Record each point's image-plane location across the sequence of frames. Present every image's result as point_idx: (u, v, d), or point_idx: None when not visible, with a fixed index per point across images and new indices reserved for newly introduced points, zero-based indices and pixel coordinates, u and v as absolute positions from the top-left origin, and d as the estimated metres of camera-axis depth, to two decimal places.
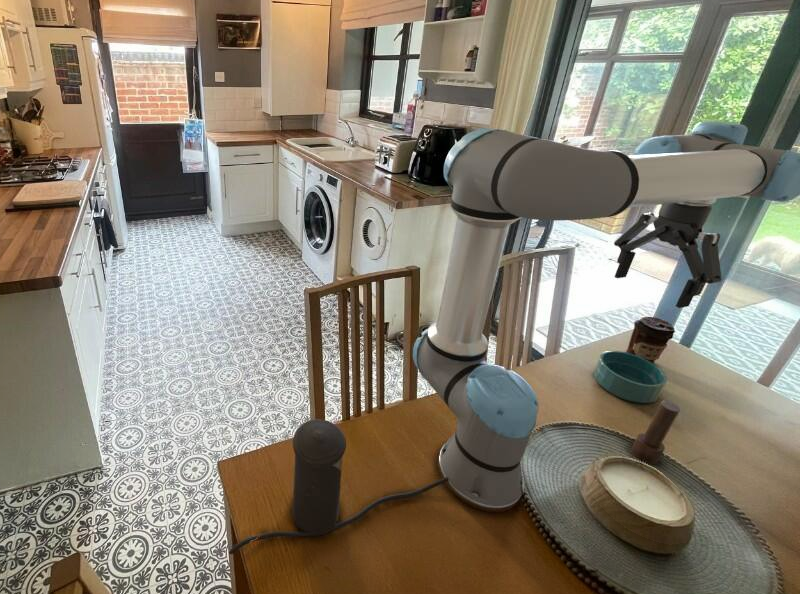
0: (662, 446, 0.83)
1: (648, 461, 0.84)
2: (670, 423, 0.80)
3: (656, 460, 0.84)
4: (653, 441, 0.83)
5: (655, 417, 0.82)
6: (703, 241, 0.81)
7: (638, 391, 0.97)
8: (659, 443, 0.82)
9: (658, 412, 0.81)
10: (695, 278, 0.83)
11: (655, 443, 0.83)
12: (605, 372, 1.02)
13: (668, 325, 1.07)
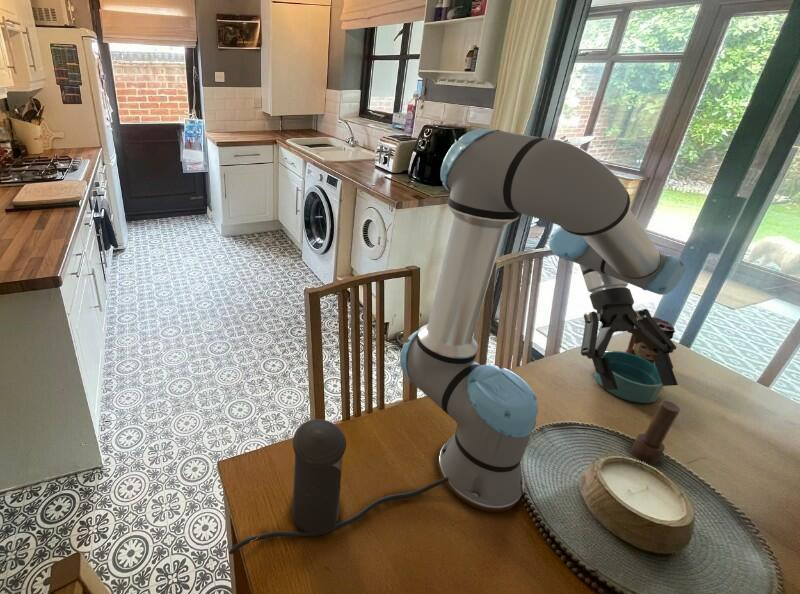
0: (662, 446, 0.83)
1: (648, 461, 0.84)
2: (670, 423, 0.80)
3: (656, 460, 0.84)
4: (653, 441, 0.83)
5: (655, 417, 0.82)
6: (646, 316, 0.91)
7: (638, 391, 0.97)
8: (659, 443, 0.82)
9: (658, 412, 0.81)
10: (665, 350, 0.88)
11: (655, 443, 0.83)
12: None
13: (668, 325, 1.07)
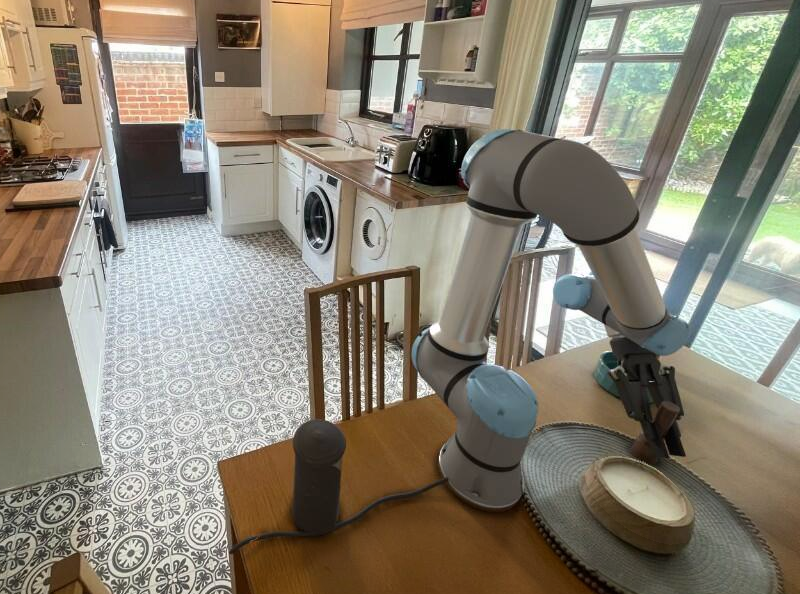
0: None
1: (648, 461, 0.84)
2: (670, 423, 0.80)
3: (656, 460, 0.84)
4: None
5: (655, 417, 0.82)
6: (669, 372, 0.85)
7: None
8: None
9: (658, 412, 0.81)
10: None
11: None
12: (605, 372, 1.02)
13: None
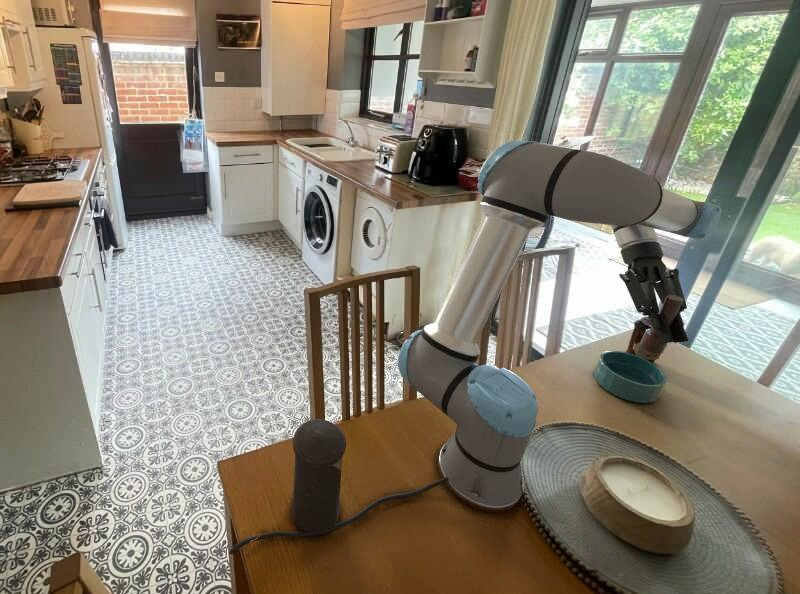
0: None
1: (655, 350, 0.95)
2: (675, 312, 0.92)
3: (662, 349, 0.95)
4: None
5: (661, 309, 0.93)
6: (674, 273, 0.97)
7: (638, 391, 0.97)
8: None
9: (664, 304, 0.93)
10: None
11: None
12: (605, 372, 1.02)
13: None
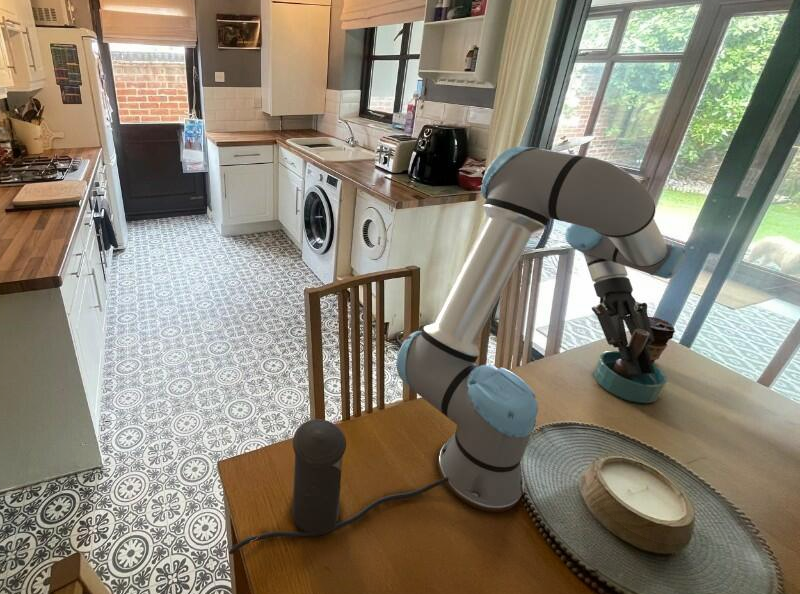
0: None
1: None
2: (642, 345, 0.97)
3: (631, 379, 1.01)
4: None
5: (630, 342, 0.99)
6: (642, 307, 1.02)
7: (638, 391, 0.97)
8: None
9: (632, 338, 0.99)
10: None
11: None
12: (605, 372, 1.02)
13: (668, 325, 1.07)
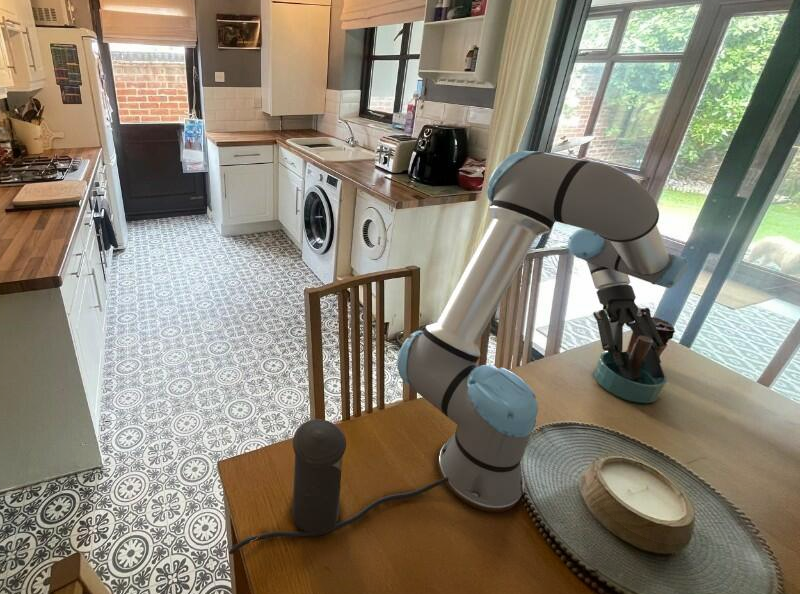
0: (639, 374, 1.02)
1: None
2: (645, 352, 0.98)
3: None
4: (632, 369, 1.01)
5: (633, 349, 1.00)
6: (646, 313, 1.04)
7: (638, 391, 0.97)
8: (637, 371, 1.01)
9: (635, 344, 0.99)
10: (654, 346, 1.01)
11: (633, 371, 1.01)
12: (605, 372, 1.02)
13: (668, 325, 1.07)
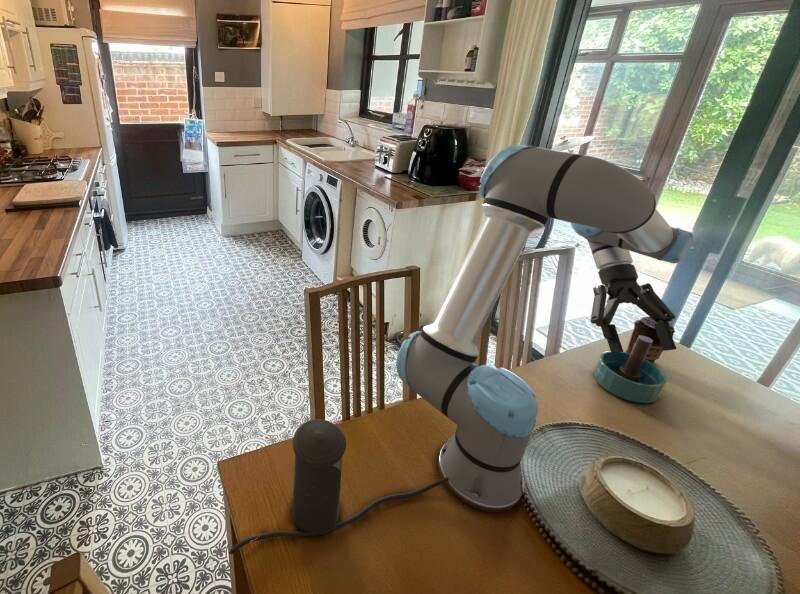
0: (639, 374, 1.02)
1: None
2: (645, 352, 0.98)
3: None
4: (632, 369, 1.01)
5: (633, 349, 1.00)
6: (649, 289, 1.02)
7: (638, 391, 0.97)
8: (637, 371, 1.01)
9: (635, 344, 0.99)
10: (666, 319, 1.00)
11: (633, 371, 1.01)
12: (605, 372, 1.02)
13: None
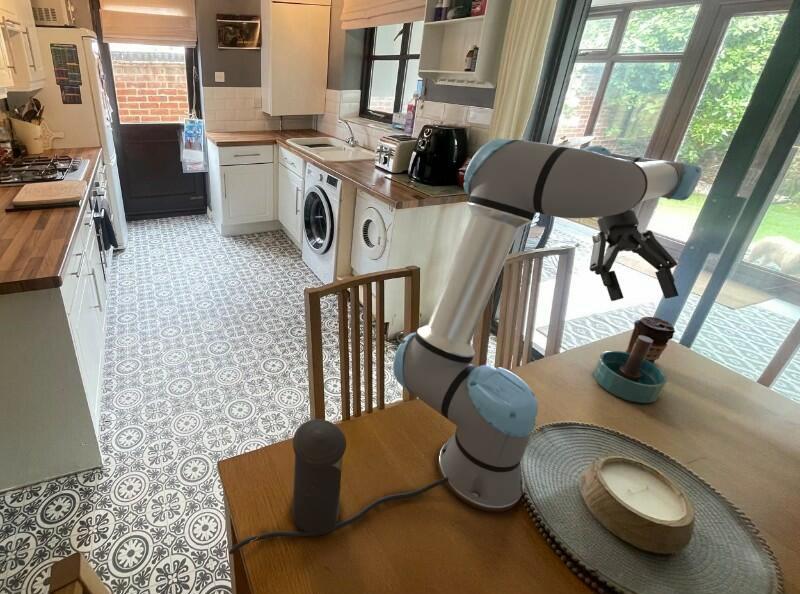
0: (639, 374, 1.02)
1: None
2: (645, 352, 0.98)
3: None
4: (632, 369, 1.01)
5: (633, 349, 1.00)
6: (650, 236, 0.99)
7: (638, 391, 0.97)
8: (637, 371, 1.01)
9: (635, 344, 0.99)
10: (667, 265, 0.96)
11: (633, 371, 1.01)
12: (605, 372, 1.02)
13: (668, 325, 1.07)
